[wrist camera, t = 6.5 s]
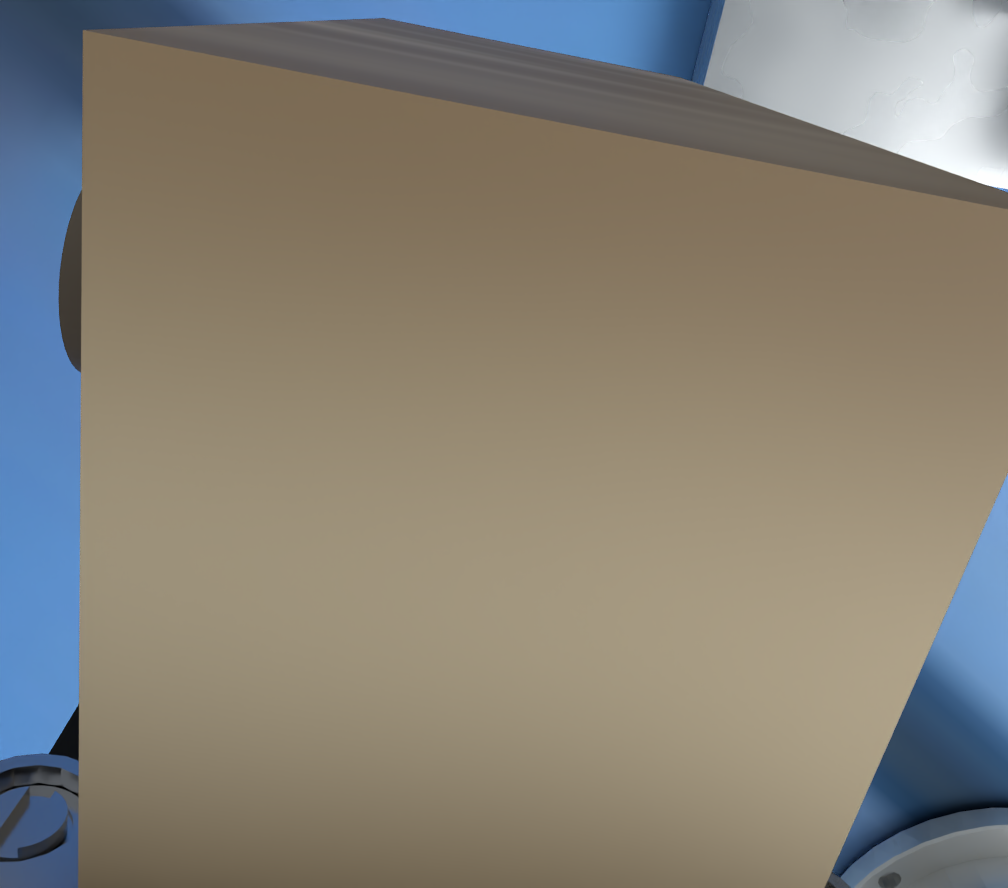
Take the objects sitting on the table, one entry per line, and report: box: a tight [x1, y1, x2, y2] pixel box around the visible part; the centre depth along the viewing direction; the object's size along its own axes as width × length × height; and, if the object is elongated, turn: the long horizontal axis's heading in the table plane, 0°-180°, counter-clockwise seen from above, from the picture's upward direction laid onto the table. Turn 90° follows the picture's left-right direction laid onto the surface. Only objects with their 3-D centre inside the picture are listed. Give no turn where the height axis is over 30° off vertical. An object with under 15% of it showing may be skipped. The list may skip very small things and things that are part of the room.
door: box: [59, 18, 1008, 888], centre depth 11 cm, size 14×5×10 cm, turn 169°
